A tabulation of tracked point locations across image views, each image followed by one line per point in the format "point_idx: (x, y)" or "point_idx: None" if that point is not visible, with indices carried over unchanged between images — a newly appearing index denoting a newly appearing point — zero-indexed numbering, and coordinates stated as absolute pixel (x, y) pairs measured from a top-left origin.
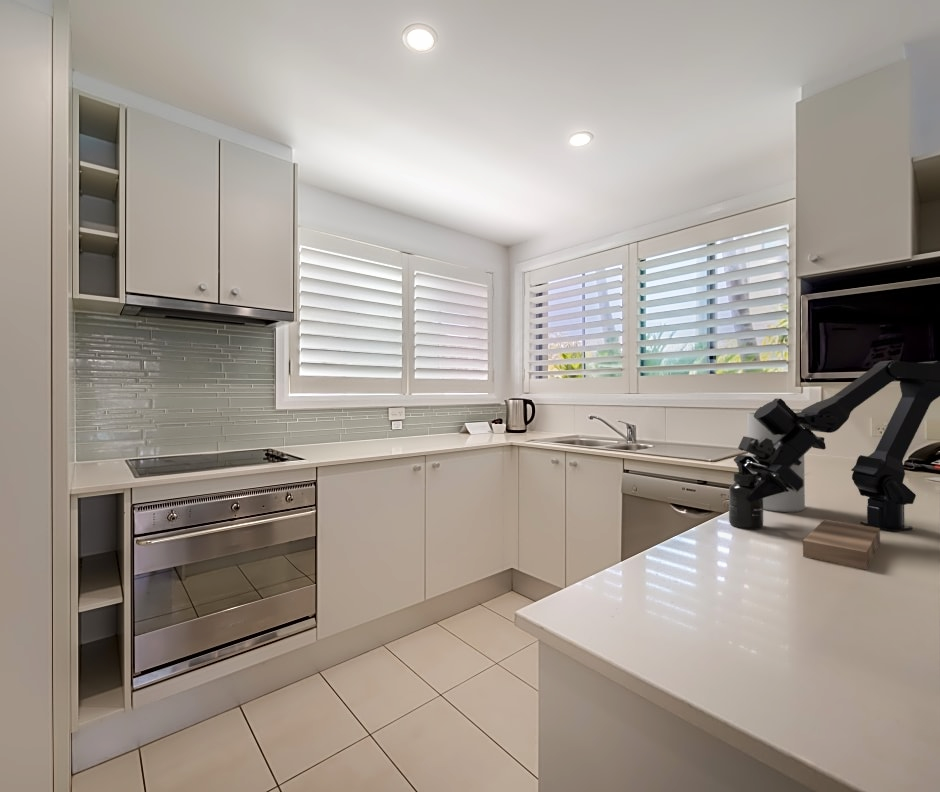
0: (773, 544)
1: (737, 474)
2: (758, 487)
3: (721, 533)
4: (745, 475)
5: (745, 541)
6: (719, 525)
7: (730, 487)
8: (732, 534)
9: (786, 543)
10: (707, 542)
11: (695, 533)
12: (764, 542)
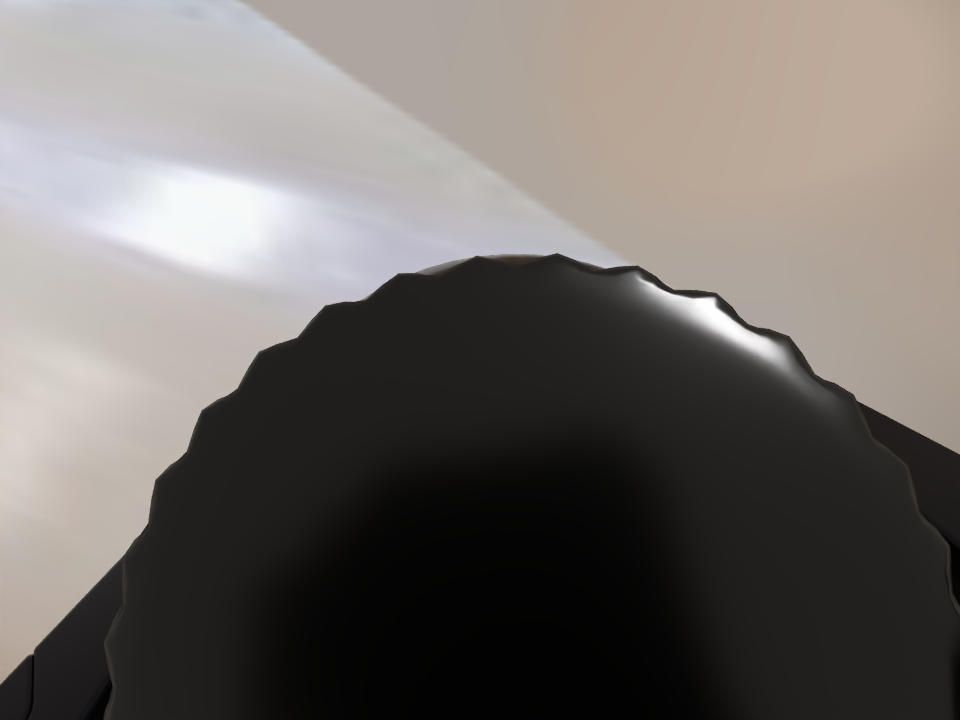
0: (21, 495)
1: (352, 304)
2: (12, 678)
3: (244, 209)
4: (147, 533)
5: (68, 321)
6: (475, 253)
7: (510, 256)
8: (230, 282)
9: (56, 603)
10: (14, 63)
11: (215, 28)
12: (61, 448)
